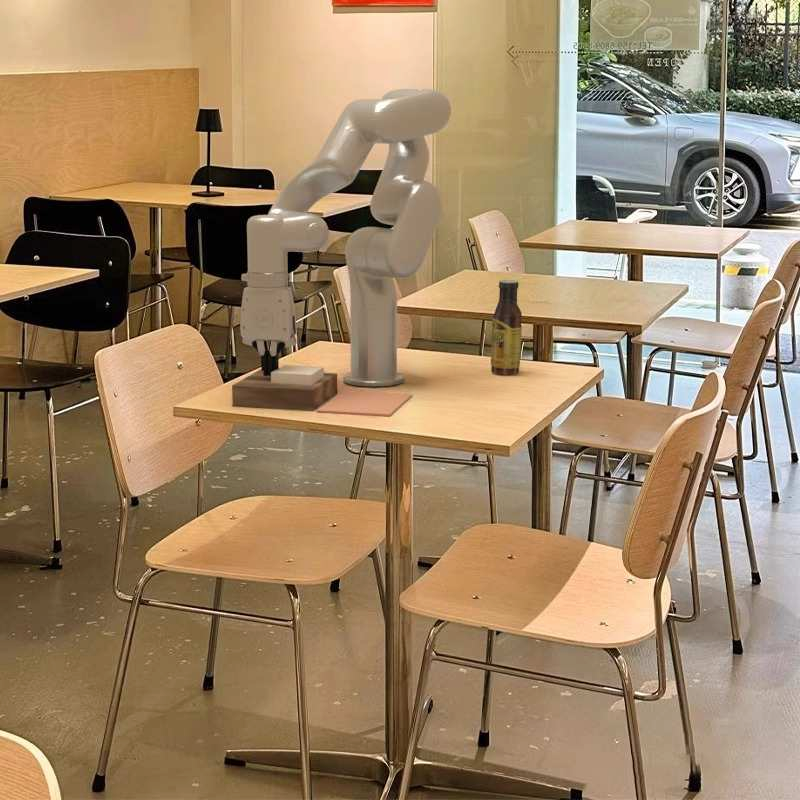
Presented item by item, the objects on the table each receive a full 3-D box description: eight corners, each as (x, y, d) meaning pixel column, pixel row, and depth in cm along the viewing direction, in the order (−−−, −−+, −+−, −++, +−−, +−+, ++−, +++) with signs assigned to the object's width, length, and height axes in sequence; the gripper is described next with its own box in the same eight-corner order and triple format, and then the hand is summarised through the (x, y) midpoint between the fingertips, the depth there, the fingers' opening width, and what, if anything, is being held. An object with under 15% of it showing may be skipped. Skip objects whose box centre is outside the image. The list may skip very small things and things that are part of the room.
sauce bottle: (485, 371, 291) (487, 279, 287) (512, 369, 293) (514, 277, 289) (498, 377, 285) (500, 283, 281) (525, 375, 287) (527, 281, 283)
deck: (260, 389, 273) (260, 369, 272) (337, 393, 269) (337, 373, 269) (232, 406, 258) (232, 385, 257) (313, 410, 254) (313, 389, 253)
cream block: (284, 374, 267) (284, 364, 266) (323, 377, 265) (323, 366, 265) (271, 382, 259) (271, 372, 259) (311, 385, 257) (311, 374, 257)
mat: (343, 392, 270) (343, 390, 270) (412, 396, 267) (412, 394, 267) (316, 412, 253) (316, 410, 253) (389, 416, 250) (389, 414, 250)
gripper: (224, 281, 258) (226, 376, 262) (298, 284, 254) (300, 380, 258) (238, 276, 265) (240, 369, 269) (311, 279, 261) (312, 373, 265)
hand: (270, 374), depth 264 cm, fingers closed
